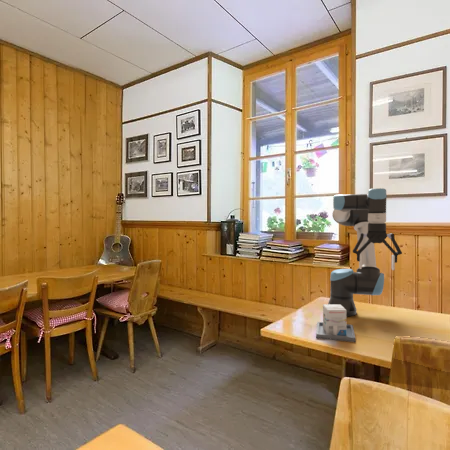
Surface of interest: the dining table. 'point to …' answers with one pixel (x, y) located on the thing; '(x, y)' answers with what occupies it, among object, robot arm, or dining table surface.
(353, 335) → the tray
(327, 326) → the ink box
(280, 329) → the dining table surface
